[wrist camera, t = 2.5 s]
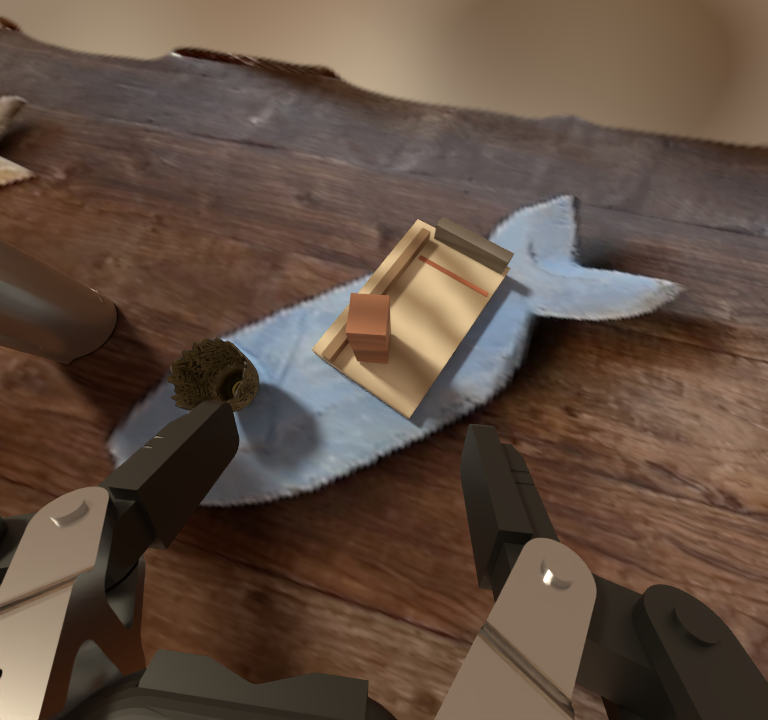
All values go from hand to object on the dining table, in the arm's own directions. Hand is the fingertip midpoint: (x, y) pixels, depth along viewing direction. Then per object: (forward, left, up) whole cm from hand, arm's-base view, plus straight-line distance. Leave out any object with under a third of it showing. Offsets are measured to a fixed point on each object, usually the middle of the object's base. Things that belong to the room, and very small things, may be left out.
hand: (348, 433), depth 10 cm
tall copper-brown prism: (+9, +7, -23) cm, 26 cm away
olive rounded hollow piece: (-4, +17, -25) cm, 30 cm away
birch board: (+16, +6, -24) cm, 30 cm away
